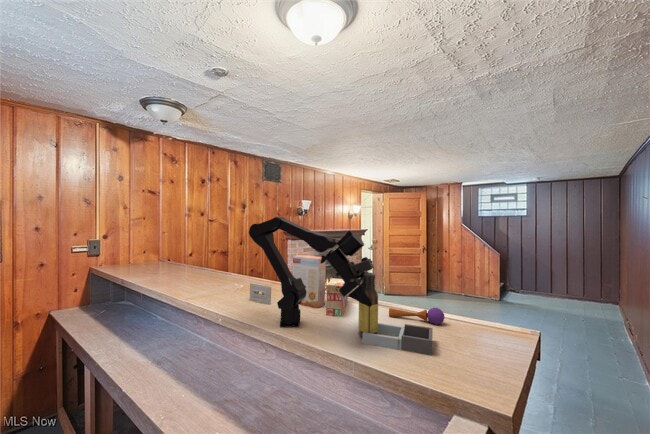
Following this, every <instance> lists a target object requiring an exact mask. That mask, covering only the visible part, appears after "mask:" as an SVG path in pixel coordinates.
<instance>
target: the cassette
mask: <svg viewBox="0 0 650 434" xmlns="http://www.w3.org/2000/svg"><path fill="white" fill-rule="evenodd" d="M249 301H250V302H251V301H252V302H255V303H259V304H263V305H267V306H268V305H270V306H271V305H272V286H270V285H265V284H259V283H256V282H255V283H254V282H250V283H249Z"/></svg>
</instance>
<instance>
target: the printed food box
mask: <svg viewBox="0 0 650 434" xmlns="http://www.w3.org/2000/svg"><path fill="white" fill-rule="evenodd" d="M344 283H345V282H344V281H343V280H342V278H333V277H332V278H331V279H330V281H329V282H328V283H327V285H326V307H325V308H326V309H325V311H326V312H325V316H329V317H338V316H339V317H343V315H344V312H345V309H346V306H347V304H348V300H349V297H348V295H349V293H348V294H347V295H346V296H345V297H343V296H342V294H341V293H340V288H341V287H342V286H343V285H344Z"/></svg>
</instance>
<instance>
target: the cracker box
mask: <svg viewBox="0 0 650 434" xmlns="http://www.w3.org/2000/svg"><path fill="white" fill-rule="evenodd" d="M326 264H327V261H326V262H325V263H321V256H315V255H308V254H307V255H305V254H295V255H293V256H292V275H293V277H295V278H296V279H298V278H301V279H302V282H303V284H304V285H305V286H306V288H305V289H306V292H307V293H306V297H305V298H304V299H303V300H302V302H301V304H300V305H301V306H302V305H303V306H308V307H312V308H317V309H319V308H320V307H323V306H326V305H325V302H326V301H325V300H326V298H325V297H326V269H327V268H326V266H327V265H326Z"/></svg>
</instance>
